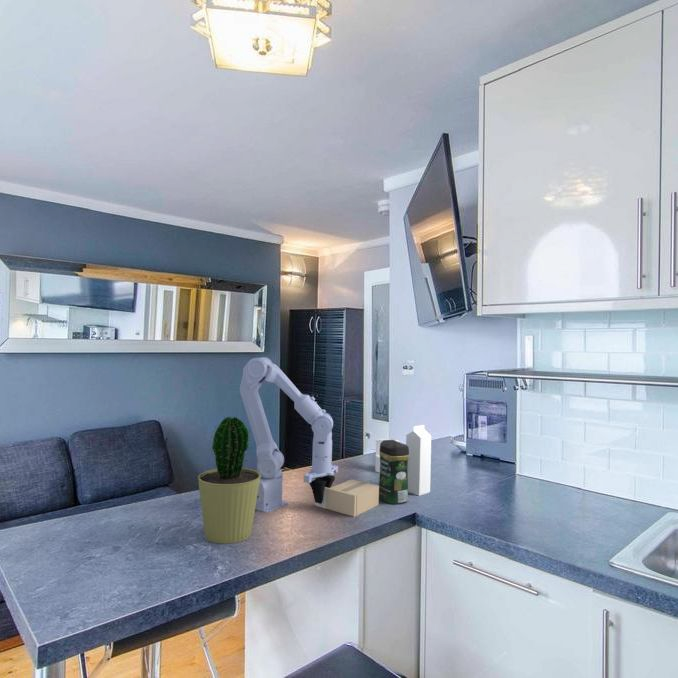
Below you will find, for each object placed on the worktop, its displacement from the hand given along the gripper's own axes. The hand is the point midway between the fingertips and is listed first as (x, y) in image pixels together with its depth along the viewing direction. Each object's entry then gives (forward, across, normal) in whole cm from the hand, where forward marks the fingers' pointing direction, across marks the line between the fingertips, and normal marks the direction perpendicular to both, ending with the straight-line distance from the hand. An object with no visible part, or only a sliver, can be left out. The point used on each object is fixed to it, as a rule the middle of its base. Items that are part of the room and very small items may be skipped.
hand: (320, 501), depth 140 cm
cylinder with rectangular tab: (+2, +49, +4) cm, 49 cm away
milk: (+2, +32, -16) cm, 36 cm away
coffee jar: (+2, +20, -14) cm, 24 cm away
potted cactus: (+2, -30, +7) cm, 31 cm away
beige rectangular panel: (+2, 0, -5) cm, 5 cm away
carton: (+2, +7, -7) cm, 10 cm away
